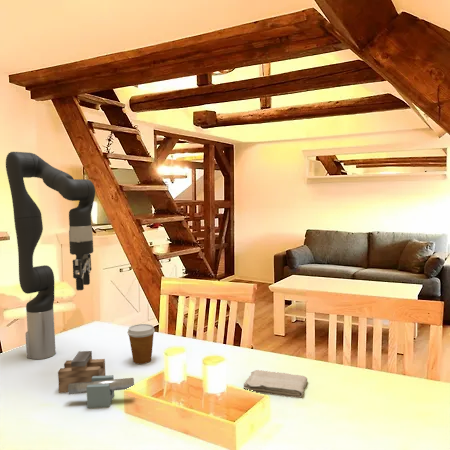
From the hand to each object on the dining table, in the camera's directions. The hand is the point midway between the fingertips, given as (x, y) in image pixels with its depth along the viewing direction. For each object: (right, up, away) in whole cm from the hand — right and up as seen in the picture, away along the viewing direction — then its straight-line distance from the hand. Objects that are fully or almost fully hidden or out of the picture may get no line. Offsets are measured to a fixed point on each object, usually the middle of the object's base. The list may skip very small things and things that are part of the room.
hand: (83, 287), depth 150 cm
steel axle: (+12, -27, -22) cm, 37 cm away
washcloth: (+63, -29, -15) cm, 71 cm away
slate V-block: (+12, -30, -22) cm, 39 cm away
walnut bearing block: (+3, -29, -11) cm, 31 cm away
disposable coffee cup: (+18, -27, +8) cm, 34 cm away
